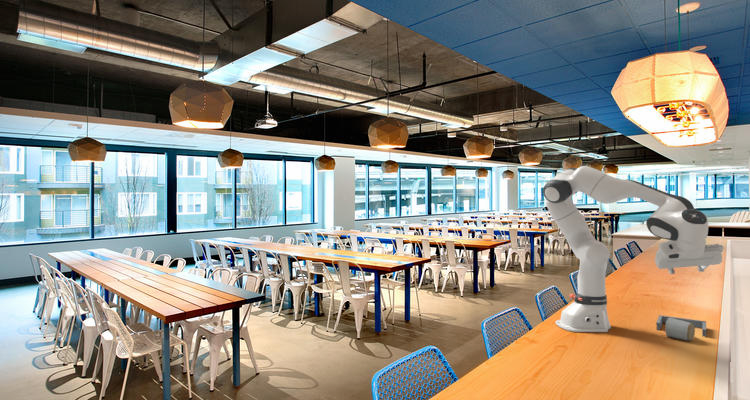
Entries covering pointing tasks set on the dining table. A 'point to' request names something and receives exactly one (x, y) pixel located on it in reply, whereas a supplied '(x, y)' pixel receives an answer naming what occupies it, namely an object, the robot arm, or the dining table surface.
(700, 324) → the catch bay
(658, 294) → the dining table surface
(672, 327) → the grey cylinder
